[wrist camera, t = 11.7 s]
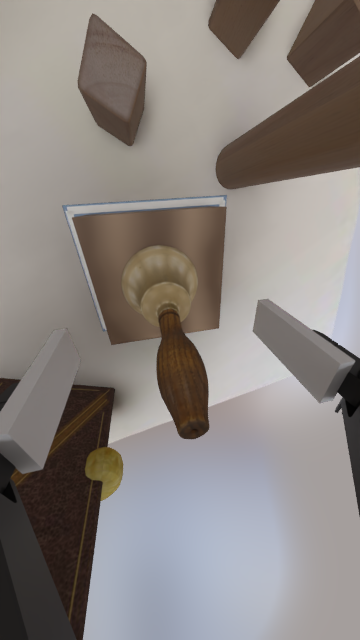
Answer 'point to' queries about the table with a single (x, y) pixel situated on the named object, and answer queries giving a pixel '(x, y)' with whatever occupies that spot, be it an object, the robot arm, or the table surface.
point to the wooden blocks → (276, 131)
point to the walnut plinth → (144, 231)
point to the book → (72, 493)
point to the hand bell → (171, 331)
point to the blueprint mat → (129, 207)
